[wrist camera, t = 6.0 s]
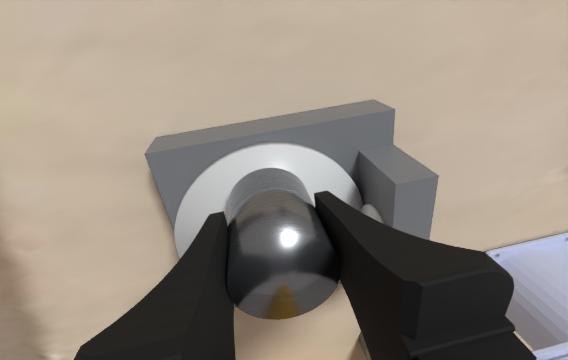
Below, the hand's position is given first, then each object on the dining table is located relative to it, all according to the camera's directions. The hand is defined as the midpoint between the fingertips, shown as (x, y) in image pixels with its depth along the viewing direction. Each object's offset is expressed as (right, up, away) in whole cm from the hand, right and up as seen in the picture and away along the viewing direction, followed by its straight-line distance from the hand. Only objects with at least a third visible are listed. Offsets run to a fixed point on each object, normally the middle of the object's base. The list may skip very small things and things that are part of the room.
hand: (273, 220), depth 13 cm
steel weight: (0, +1, +2) cm, 2 cm away
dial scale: (0, 0, +7) cm, 7 cm away
